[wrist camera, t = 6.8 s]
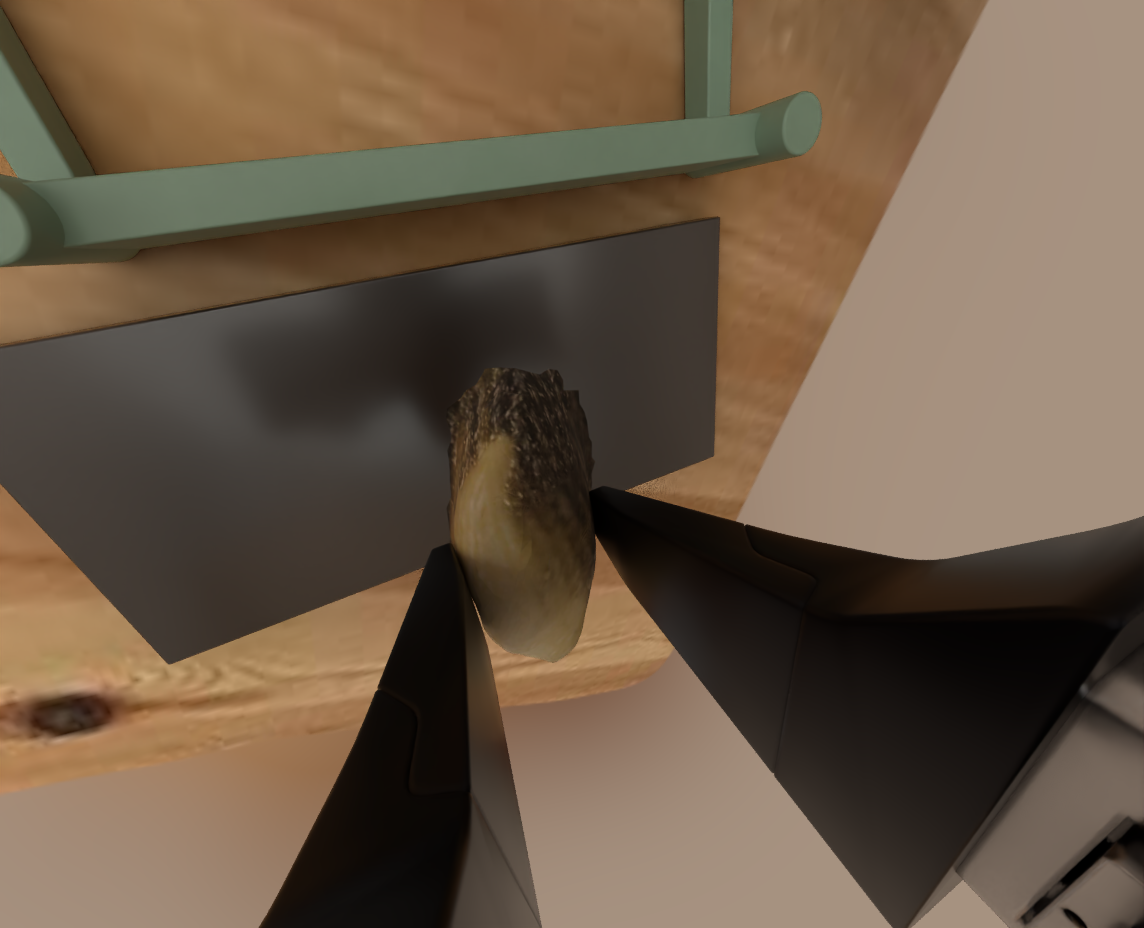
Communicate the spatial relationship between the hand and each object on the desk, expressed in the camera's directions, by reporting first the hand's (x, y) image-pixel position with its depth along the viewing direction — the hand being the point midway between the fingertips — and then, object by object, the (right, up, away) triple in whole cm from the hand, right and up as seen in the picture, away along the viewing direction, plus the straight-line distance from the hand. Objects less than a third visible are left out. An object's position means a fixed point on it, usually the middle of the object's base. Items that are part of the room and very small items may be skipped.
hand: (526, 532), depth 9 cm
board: (-3, +3, +6) cm, 8 cm away
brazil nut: (0, +1, +1) cm, 1 cm away
